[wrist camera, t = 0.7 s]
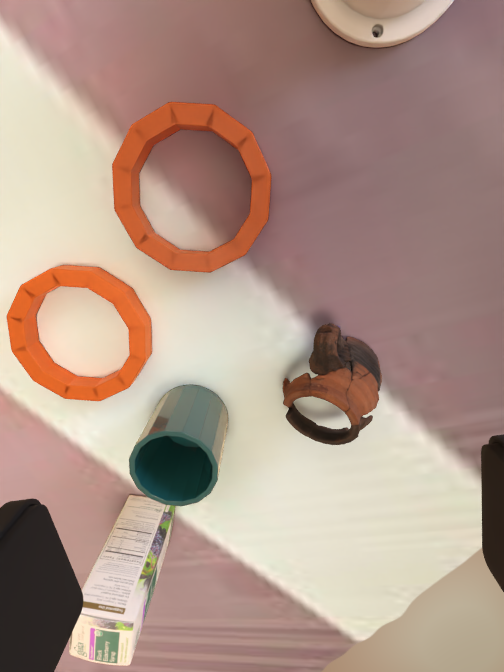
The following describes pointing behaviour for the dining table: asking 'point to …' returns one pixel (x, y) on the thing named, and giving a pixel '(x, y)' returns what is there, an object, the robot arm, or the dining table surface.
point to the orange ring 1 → (38, 359)
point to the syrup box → (123, 583)
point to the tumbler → (181, 447)
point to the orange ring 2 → (134, 158)
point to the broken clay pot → (336, 385)
